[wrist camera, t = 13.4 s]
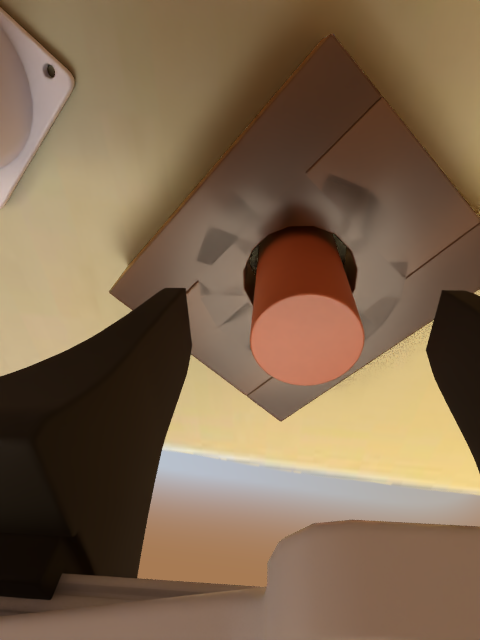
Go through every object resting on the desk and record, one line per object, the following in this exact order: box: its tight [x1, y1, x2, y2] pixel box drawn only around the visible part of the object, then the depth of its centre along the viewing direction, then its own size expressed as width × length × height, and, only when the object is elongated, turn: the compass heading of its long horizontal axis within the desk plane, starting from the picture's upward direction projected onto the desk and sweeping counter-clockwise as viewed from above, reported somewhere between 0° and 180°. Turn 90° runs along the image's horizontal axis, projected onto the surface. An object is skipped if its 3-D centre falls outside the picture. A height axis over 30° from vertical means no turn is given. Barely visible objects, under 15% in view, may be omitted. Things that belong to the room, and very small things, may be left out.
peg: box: [250, 226, 365, 386], centre depth 18 cm, size 4×4×8 cm
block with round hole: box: [109, 34, 480, 421], centre depth 20 cm, size 12×14×3 cm
